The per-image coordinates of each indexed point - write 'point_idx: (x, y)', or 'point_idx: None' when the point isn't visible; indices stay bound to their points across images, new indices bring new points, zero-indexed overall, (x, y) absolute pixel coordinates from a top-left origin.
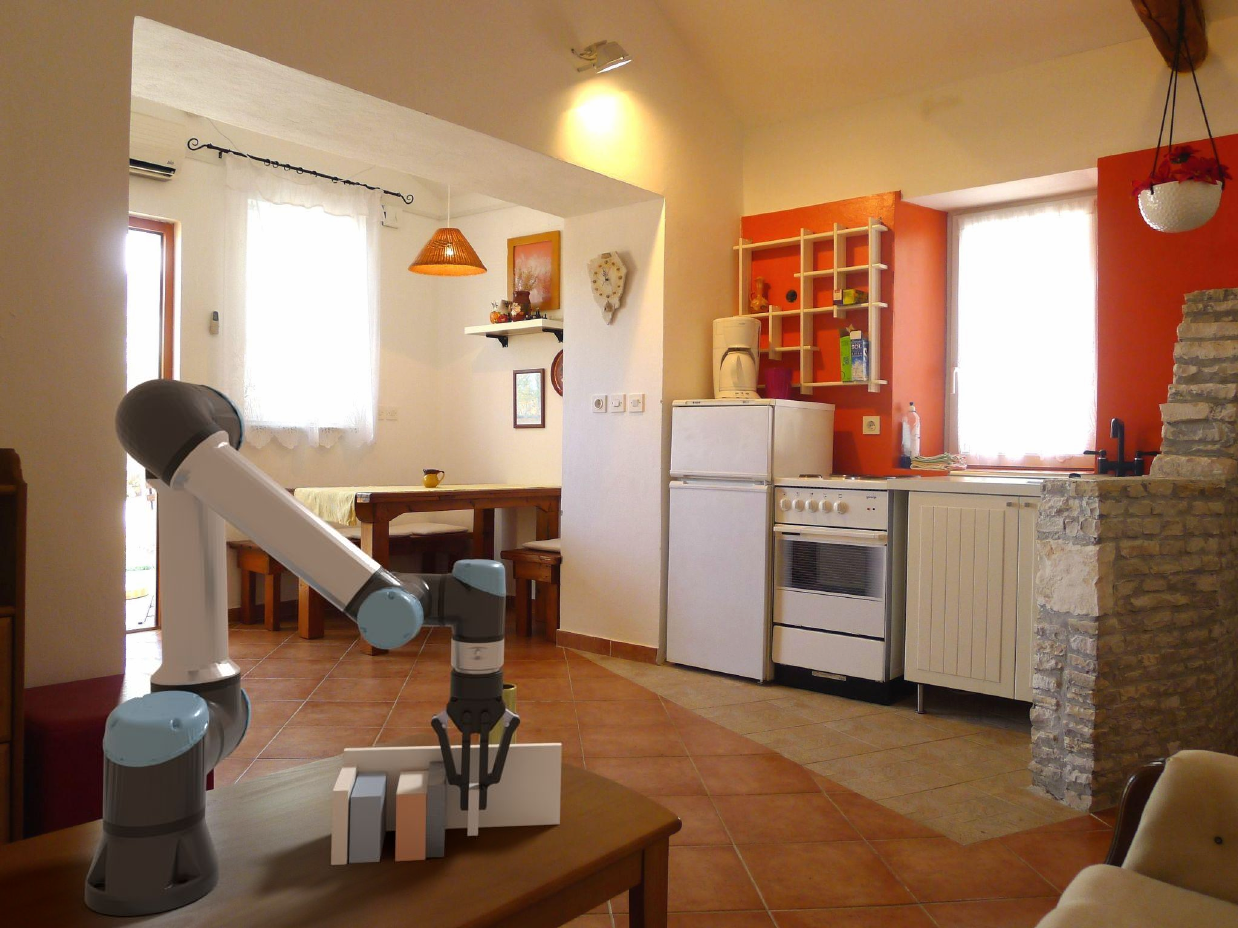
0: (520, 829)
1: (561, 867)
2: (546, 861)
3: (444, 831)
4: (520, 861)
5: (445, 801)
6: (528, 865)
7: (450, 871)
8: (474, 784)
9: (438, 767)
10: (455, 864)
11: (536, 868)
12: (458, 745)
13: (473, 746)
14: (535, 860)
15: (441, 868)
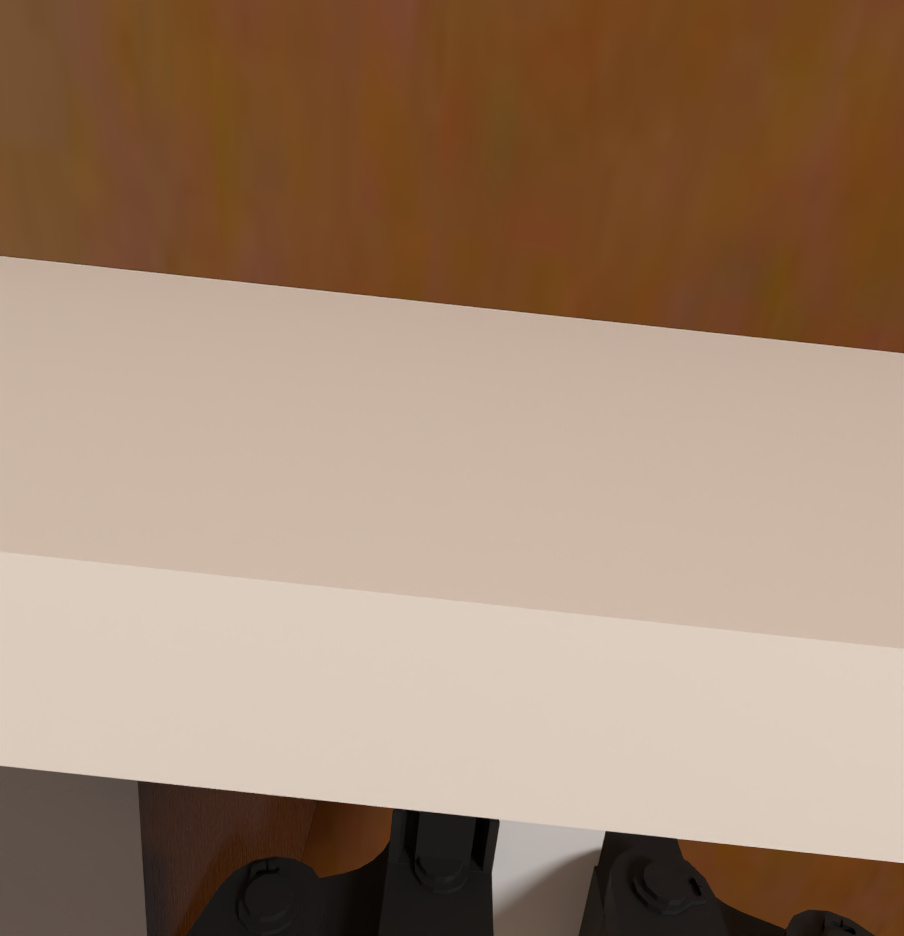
0: None
1: (878, 931)
2: (834, 869)
3: (303, 829)
4: (709, 845)
5: (261, 854)
6: (733, 886)
7: (361, 866)
8: (549, 844)
9: (17, 881)
10: (389, 811)
11: (760, 917)
12: (281, 593)
13: (741, 766)
14: (785, 851)
15: (320, 833)
